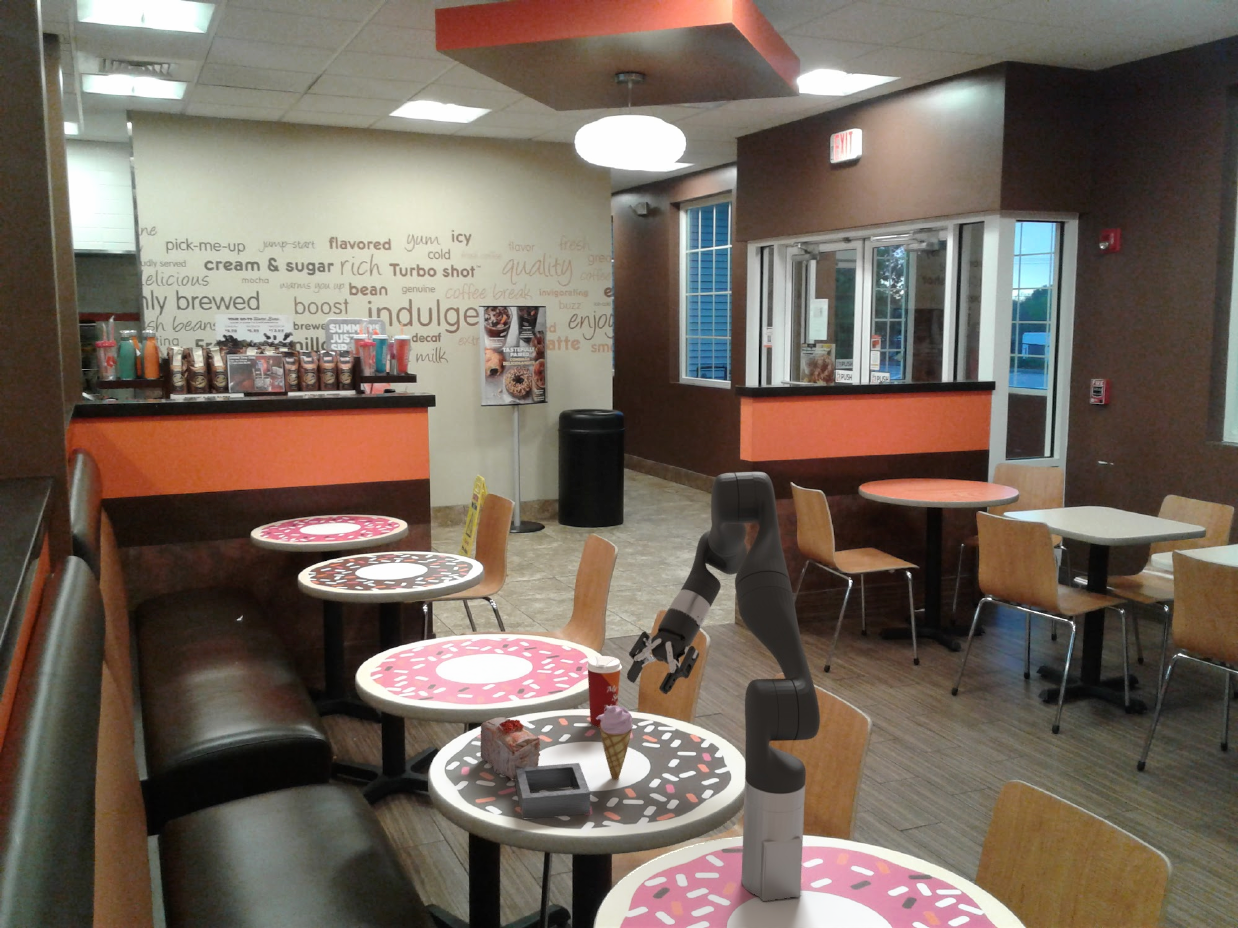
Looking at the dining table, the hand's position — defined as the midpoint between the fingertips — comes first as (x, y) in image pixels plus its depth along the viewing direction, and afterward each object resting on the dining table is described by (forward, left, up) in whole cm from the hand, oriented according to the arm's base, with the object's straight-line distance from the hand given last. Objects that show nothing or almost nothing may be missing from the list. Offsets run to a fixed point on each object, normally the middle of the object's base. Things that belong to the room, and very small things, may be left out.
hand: (646, 686), depth 196 cm
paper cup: (+21, +4, -16) cm, 27 cm away
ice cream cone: (-5, +7, -16) cm, 18 cm away
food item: (+2, +27, -16) cm, 31 cm away
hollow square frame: (-12, +20, -16) cm, 28 cm away
